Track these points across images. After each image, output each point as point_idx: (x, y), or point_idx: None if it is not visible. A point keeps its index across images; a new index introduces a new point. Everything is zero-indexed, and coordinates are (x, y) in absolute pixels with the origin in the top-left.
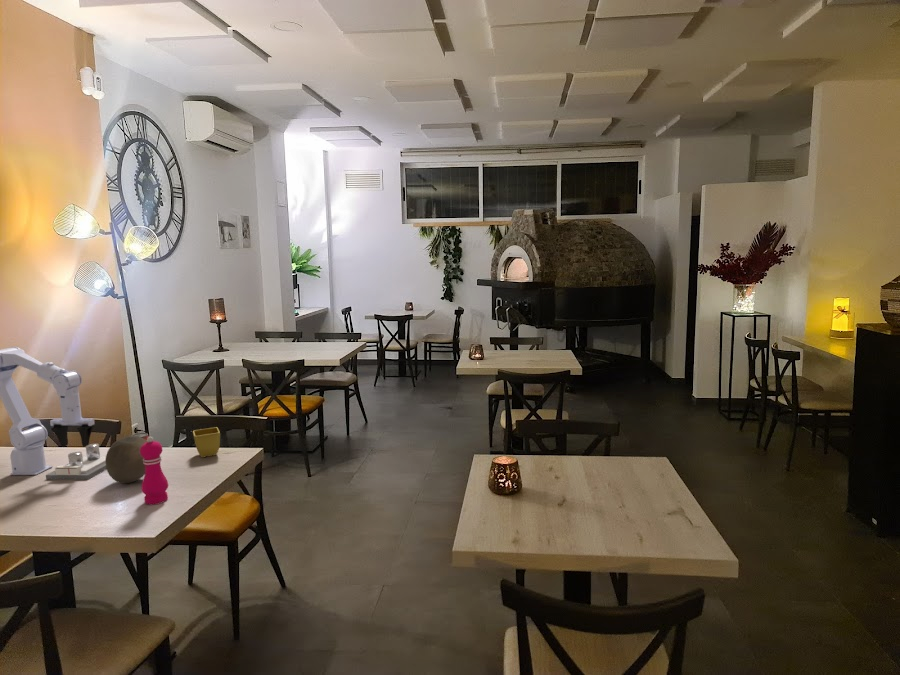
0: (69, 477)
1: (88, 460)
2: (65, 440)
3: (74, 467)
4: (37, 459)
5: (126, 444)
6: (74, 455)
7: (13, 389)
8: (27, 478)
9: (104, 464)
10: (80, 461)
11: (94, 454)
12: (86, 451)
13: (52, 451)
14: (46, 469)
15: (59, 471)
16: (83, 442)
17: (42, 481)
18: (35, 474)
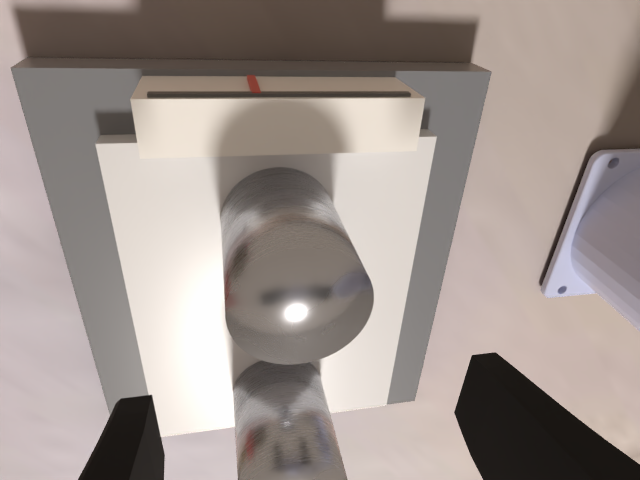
0: (246, 64)
1: None
2: (499, 459)
3: (176, 101)
4: None
5: None
6: (259, 257)
7: None
8: (630, 86)
9: (116, 330)
10: (223, 248)
11: (247, 410)
12: (319, 422)
13: (624, 448)
14: (557, 245)
15: (364, 86)
16: (99, 461)
17: (480, 10)
18: (597, 152)
